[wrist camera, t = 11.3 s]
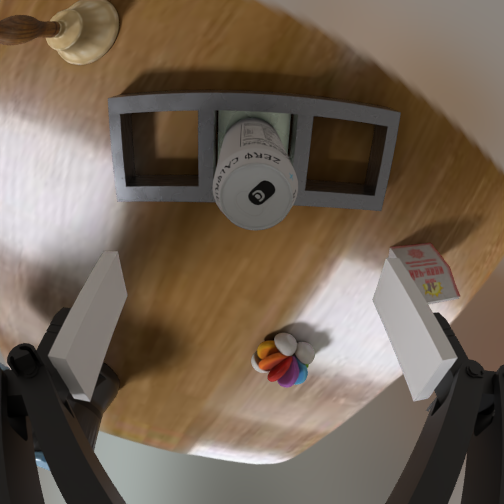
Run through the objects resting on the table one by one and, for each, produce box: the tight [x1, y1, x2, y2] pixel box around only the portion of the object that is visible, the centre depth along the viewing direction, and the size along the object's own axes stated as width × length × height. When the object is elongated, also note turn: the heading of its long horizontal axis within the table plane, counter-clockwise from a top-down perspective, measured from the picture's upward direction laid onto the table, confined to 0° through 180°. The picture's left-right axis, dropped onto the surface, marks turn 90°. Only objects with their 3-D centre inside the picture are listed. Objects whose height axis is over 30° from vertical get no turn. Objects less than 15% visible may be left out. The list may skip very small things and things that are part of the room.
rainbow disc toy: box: [251, 333, 315, 387], centre depth 49 cm, size 8×10×7 cm
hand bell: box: [0, 0, 119, 65], centre depth 19 cm, size 8×8×16 cm
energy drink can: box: [213, 118, 298, 230], centre depth 27 cm, size 6×6×15 cm
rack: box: [108, 90, 401, 211], centre depth 32 cm, size 30×12×4 cm, turn 87°
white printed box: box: [388, 243, 460, 304], centre depth 38 cm, size 4×7×10 cm, turn 96°
